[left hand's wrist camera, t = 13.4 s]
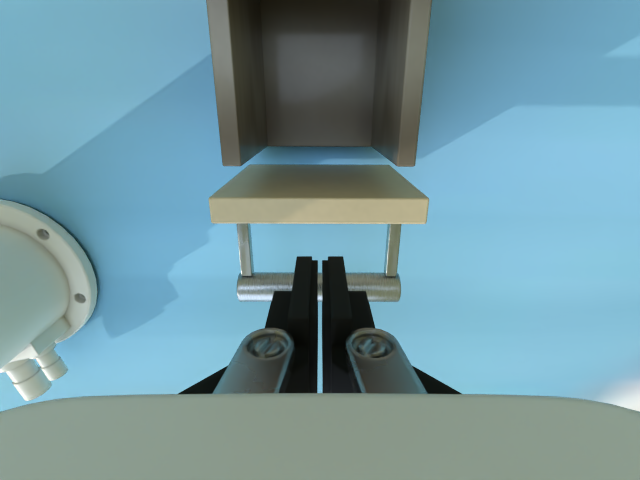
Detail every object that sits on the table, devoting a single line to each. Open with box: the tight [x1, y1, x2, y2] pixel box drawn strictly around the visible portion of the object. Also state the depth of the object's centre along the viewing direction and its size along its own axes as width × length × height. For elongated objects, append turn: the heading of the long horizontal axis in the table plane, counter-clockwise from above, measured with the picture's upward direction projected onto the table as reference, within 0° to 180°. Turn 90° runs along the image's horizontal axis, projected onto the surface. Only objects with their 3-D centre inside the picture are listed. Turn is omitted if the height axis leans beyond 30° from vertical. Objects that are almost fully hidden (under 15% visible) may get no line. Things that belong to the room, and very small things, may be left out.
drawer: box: [206, 0, 432, 302], centre depth 17 cm, size 23×10×9 cm, turn 0°
